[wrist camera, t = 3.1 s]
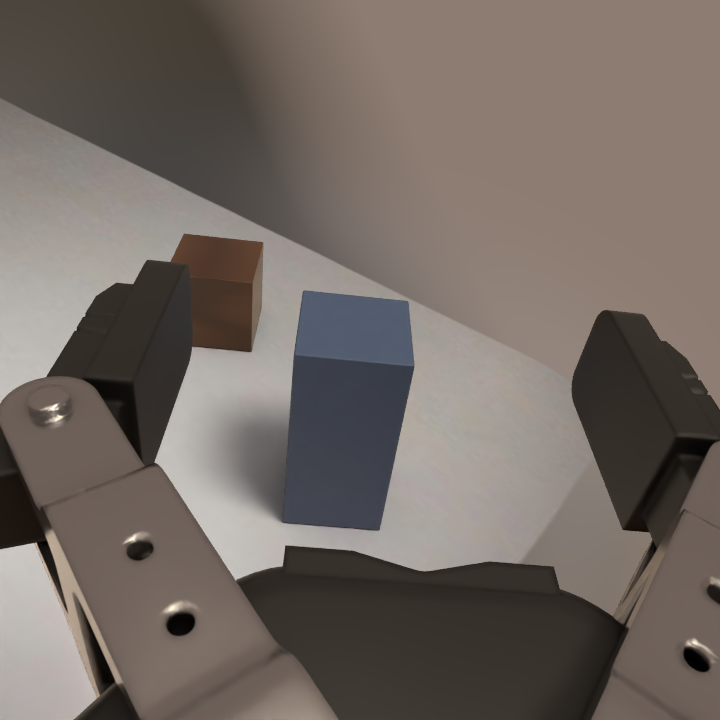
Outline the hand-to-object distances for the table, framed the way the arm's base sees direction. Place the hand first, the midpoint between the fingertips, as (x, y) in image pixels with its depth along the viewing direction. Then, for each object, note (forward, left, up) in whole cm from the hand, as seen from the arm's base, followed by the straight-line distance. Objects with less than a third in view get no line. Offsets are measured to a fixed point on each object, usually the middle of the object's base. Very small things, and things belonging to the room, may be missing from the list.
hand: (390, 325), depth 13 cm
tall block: (0, -11, -18) cm, 21 cm away
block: (+8, -24, -18) cm, 31 cm away
